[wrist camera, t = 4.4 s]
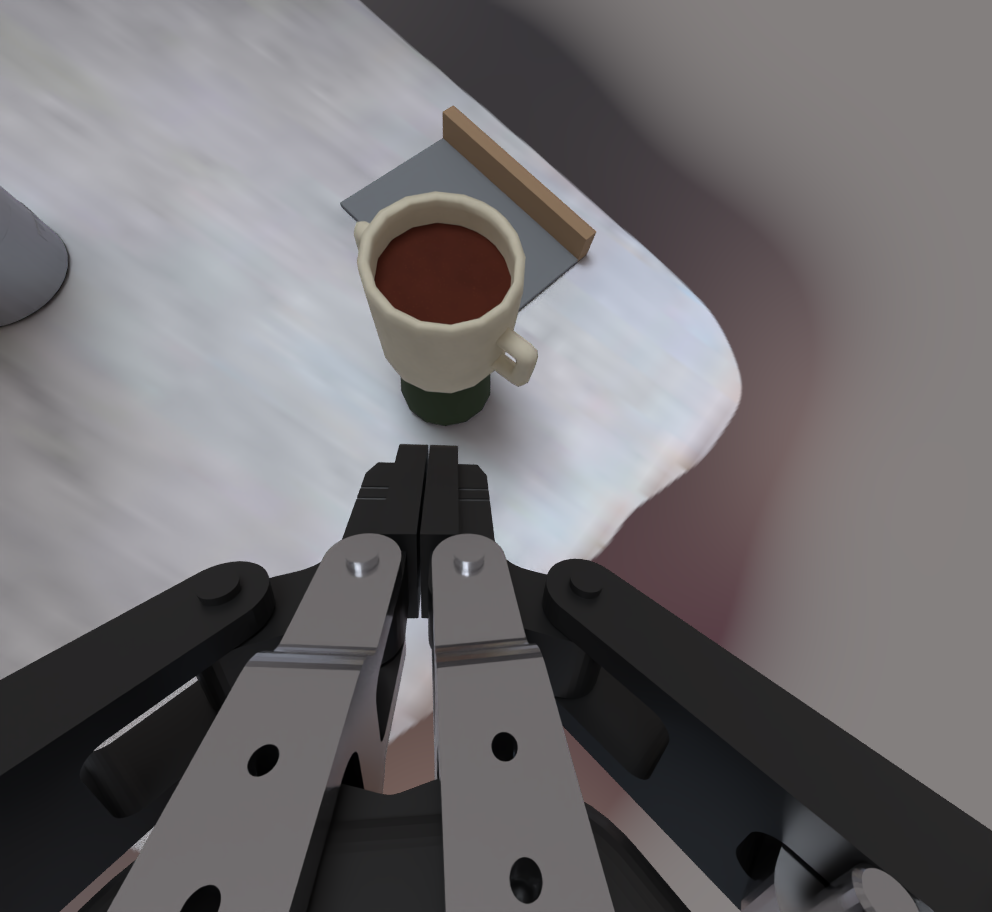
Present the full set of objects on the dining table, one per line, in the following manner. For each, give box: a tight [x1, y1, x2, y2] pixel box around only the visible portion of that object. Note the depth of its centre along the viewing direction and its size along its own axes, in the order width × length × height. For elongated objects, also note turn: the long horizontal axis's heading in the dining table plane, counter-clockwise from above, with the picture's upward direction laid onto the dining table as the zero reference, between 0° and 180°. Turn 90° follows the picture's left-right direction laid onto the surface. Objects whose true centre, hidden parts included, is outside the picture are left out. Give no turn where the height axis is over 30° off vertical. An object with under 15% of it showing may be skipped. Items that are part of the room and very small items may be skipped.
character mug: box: [354, 191, 538, 426], centre depth 23 cm, size 11×7×13 cm, turn 52°
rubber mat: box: [340, 105, 596, 310], centre depth 32 cm, size 12×16×2 cm
